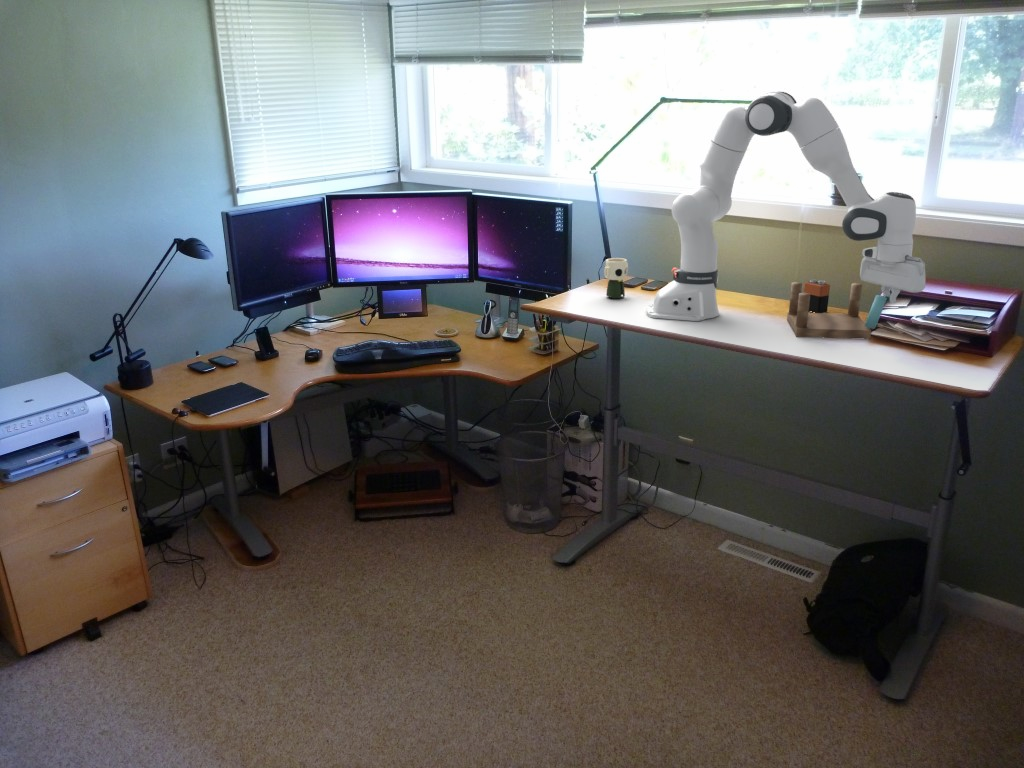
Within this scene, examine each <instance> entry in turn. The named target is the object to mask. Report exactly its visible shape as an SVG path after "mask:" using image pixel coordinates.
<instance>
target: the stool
mask: <svg viewBox="0 0 1024 768" xmlns="http://www.w3.org/2000/svg"><path fill="white" fill-rule="evenodd" d="M850 285H851V286H850V293H849V294H850V295H849V303H848V310H847V313H836V312H835V313H833V312H832V313H831V312H830V313H829V312H825V313H812V312H808V311H809V302H810V294H809V293H803V292H802V291H803V290H802V288H803V283H802V282H799V281H793V282H791V285H790V286H791V287H790V295H789V296H790V297H789V306H788V307H789V308H788V311H787V316H786V320H787V323H788V325H789V326H790V328H791V330H792V332H793V335H795V338H817V339H818V338H821V339H822V337H824V339H828V338H829V339H852V338H864V339H863V340H868V339H867V338H870V339H871V334H872V329H871V328H868V327H866V326H864V325H865V322H864V320H863V319H862V318H861V317H860V316H859V315H860V309H861V308H860V307H861V300H862V291H863V283H860V282H859V283H858V282H853V283H851V284H850Z"/></svg>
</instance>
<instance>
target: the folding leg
mask: <svg viewBox="0 0 1024 768" xmlns="http://www.w3.org/2000/svg"><path fill="white" fill-rule="evenodd" d="M886 300H887V298H886V297H884V295H880V294H875V297H874V300H873V302H872V304H871V308H870V310H869V312H868V315H867V317H866V319H865V322H864V323H865V325H864V326H866V327H868V328H869V329H871V330H872V329H873V330H874V329H876V327H877V325H878V323H879V320H880V317H881V315H882V312H883V310H884V307H885V305H886V303H887V302H886Z"/></svg>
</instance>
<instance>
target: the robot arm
mask: <svg viewBox="0 0 1024 768" xmlns="http://www.w3.org/2000/svg"><path fill="white" fill-rule="evenodd" d="M784 132H789V133H790V134H792V136H793V137H794V138H795V141H796V142H797V145H798V147H799V148H800V151H801V152H802V155H803V156H804V158H805V159H806V161H807V162H808V163H809V165H810V166H811V167H812V168H813V169H814V170H815V171H818V172H820V173H822V174H824V175H825V176H827V177H828V178H829V179H830V180H831V181H832V183H834V184H835V186H836V189H837V191H838V192H839V194H840V196H841V198H842V199H843V202H844V203H845V205H846V209H847V213H845V215H844V216H843V219H842V225H841V227H842V231H843V233H844V234H845V236H846V237H847V238H849V239H850V240H852V241H857V242H866V241H870V240H876V239H877V245H874V246H873V247H872V246H871V247H867V248H863V249H862V257H863V258H862V259H861V261H860V269H859V277H860V280H861V281H862V282H865V283H868V284H872V285H873V284H874V285H877V286H881V288H880V289H881V293H882V296H884V297H886V298H887V300H886V302H885V303H888V304H891V305H892V304H893V305H894V304H896V301H897V297H898V295H899V294H900V293H901V291H905V292H908V293H913V294H915V293H921V292H923V291H924V290H925V288H926V269H925V268H926V264H925V262H924V261H923V260H922V258H921V257H916V256H913V250H914V249H913V247H914V238H913V232H914V229H915V227H916V217H917V204H916V201H915V199H914V198H913V196H911V195H910V194H907V193H903V192H895V191H894V192H893V191H891V192H890V191H889V192H885V193H884V194H883V195H882V196H880V197H878V198H876V199H874V198H873V197H872V196H871V195H870V194H869V192H868V191H867V190H866V187H865V186H864V184H863V182H862V180H861V178H860V176H859V175H858V173H857V171H856V168H855V167H854V165H853V162H852V159H851V154H850V151H849V149H848V146H847V143H846V139H845V137H844V135H843V132H842V130H841V128H840V127H839V125H838V123H837V121H836V119H835V117H834V116H833V114H832V113H831V111H830V110H829V109H828V107H827V106H826V105H825V103H824V102H823V101H822V100H821V99H819V98H817V97H816V98H815V97H811V98H807V99H804V100H802V101H800V102H797V100H796V99H795V98H794V96H793V95H791V94H789V93H788V92H785V91H772V92H768V93H765V94H763V95H760V96H757V97H756V98H754V99H753V100H752V101H751V102H750V103H749V105H748V106H747V107H746V106H743V105H739V104H738V105H737V104H736V105H730V106H728V107H727V108H726V109H724V111H723V112H722V114H721V116H720V117H719V119H718V120H717V122H716V124H715V126H714V128H713V129H712V132H711V135H710V136H709V140H708V141H707V144H706V147H705V149H704V152H703V153H702V156H701V159H700V162H699V168H700V175H699V181H698V184H697V186H696V187H695V188H693V189H689V190H686V191H684V192H682V193H681V194H679V195H678V196H677V197H676V198H675V199H674V200H673V203H672V205H671V215H672V218H673V220H674V221H675V223H677V227H678V230H679V231H678V232H679V238H680V245H681V246H680V267H679V268H678V267H673V268H672V269H671V274H672V279H673V280H672V281H670V282H669V283H668V284H666V285H665V286H663V287H662V288H661V289H659V290H657V292H656V294H655V296H654V300H653V304H650V305H648V306H647V307H646V312H645V313H646V315H647V316H648V317H650V318H653V319H664V320H665V319H666V320H677V321H690V322H691V321H692V322H700V321H704V320H707V319H713V318H716V317H719V315H720V311H719V308H718V301H717V299H718V298H717V288H718V281H719V271H718V257H719V255H718V253H719V244H718V241H717V240H716V239H715V234H714V228H713V227H714V226H713V223H714V222H717V221H719V220H721V219H722V218H723V217H725V216H726V215H727V214H728V212H729V211H730V210H731V208H732V203H733V202H732V201H733V200H732V192H733V189H734V187H733V186H734V183H735V179H736V176H737V173H738V170H739V168H740V166H741V164H742V162H743V159H744V157H745V154H746V151H747V150H748V147H749V144H750V142H751V140H752V139H753V137H754V136H755V135H758V136H760V137H762V136H763V137H769V136H771V135H776V134H780V133H784Z"/></svg>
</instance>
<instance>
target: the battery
mask: <svg viewBox="0 0 1024 768" xmlns="http://www.w3.org/2000/svg"><path fill="white" fill-rule="evenodd" d="M830 284H831V283H826V281H825V280H818V281H817V280H816V279H814V278H811V279H810V280H809V281H805V282H804V285H803V292H802V293H809V294H810V302H809V311H812V312H815V313H822V312H825V313H828V306H829V300H830V299H829V297H830V290H831V285H830ZM812 312H811V313H812Z"/></svg>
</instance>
